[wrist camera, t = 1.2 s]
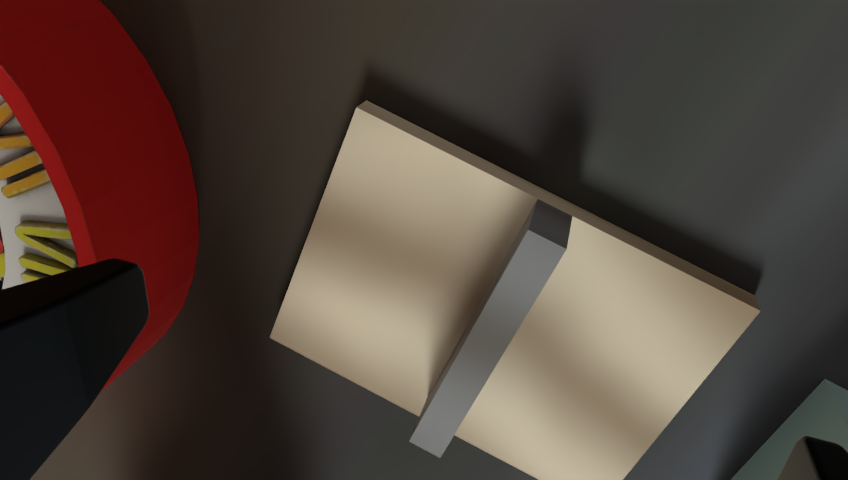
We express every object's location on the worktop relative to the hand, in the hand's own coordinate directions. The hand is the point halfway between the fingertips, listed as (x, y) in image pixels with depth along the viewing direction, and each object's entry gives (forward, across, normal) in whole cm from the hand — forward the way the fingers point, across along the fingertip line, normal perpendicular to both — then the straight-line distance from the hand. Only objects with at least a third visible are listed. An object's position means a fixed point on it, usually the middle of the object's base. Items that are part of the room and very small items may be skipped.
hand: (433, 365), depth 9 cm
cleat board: (+13, +1, +8) cm, 16 cm away
